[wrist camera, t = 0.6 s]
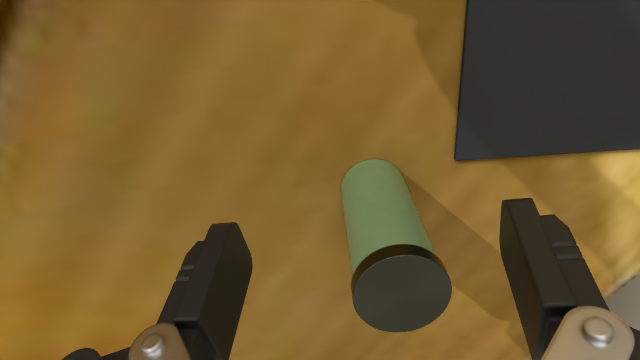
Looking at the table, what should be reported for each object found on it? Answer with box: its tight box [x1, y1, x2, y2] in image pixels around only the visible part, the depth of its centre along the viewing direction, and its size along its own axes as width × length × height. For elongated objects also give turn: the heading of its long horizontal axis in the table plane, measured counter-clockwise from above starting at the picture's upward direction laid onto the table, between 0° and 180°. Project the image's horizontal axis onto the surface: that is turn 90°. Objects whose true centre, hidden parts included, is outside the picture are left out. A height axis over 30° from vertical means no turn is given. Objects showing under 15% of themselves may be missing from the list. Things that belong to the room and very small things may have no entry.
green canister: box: [341, 159, 452, 332], centre depth 28 cm, size 5×5×12 cm
